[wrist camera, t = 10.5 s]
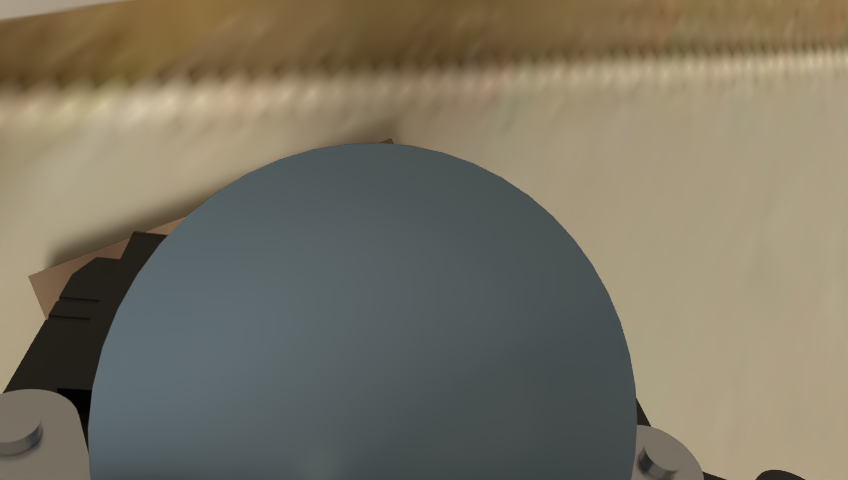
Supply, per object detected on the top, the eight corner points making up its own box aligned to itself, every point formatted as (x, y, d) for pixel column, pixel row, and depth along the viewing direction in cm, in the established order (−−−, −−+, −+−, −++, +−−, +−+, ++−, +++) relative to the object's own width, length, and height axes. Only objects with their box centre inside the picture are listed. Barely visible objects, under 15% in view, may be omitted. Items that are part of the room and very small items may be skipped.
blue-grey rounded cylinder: (378, 221, 16) (498, 67, 8) (480, 441, 16) (724, 531, 7) (151, 316, 15) (-15, 252, 6) (258, 567, 14) (242, 877, 6)
